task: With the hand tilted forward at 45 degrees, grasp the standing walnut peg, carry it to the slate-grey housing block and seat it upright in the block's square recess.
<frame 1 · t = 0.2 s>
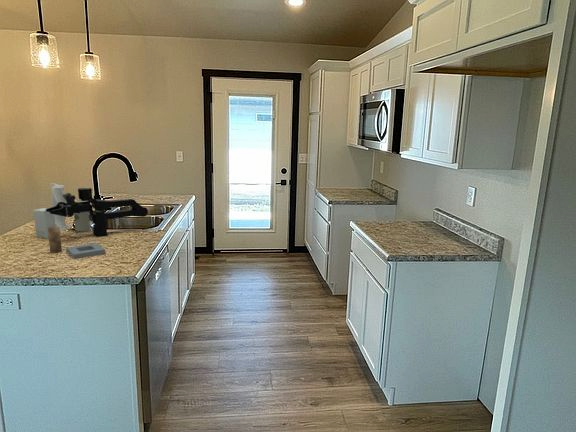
hand: (47, 211, 212), 17 cm above the counter, tool horizontal, fingers open, 9 cm apart
skincare box: (46, 237, 225), on the counter
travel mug: (82, 230, 241), on the counter
walnut peg: (55, 251, 199), on the counter
skyscraper: (60, 230, 241), on the counter
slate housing: (85, 252, 199), on the counter
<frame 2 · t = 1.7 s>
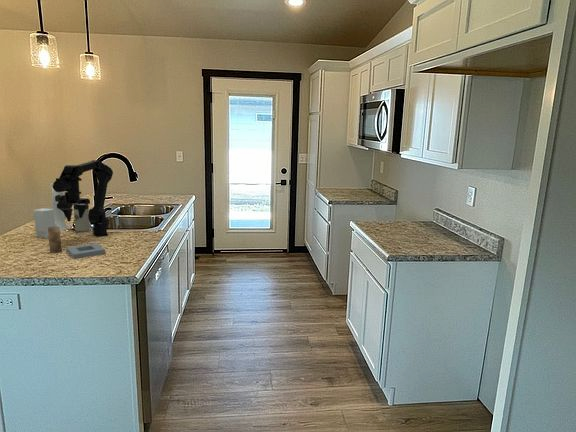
hand: (74, 219, 211), 13 cm above the counter, tool pointing down, fingers open, 9 cm apart
nothing on the counter moved.
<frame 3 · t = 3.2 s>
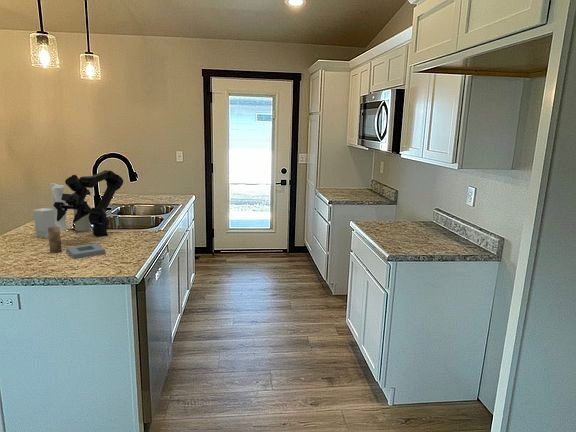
hand: (65, 221, 204), 13 cm above the counter, tool tilted 45°, fingers open, 9 cm apart
nothing on the counter moved.
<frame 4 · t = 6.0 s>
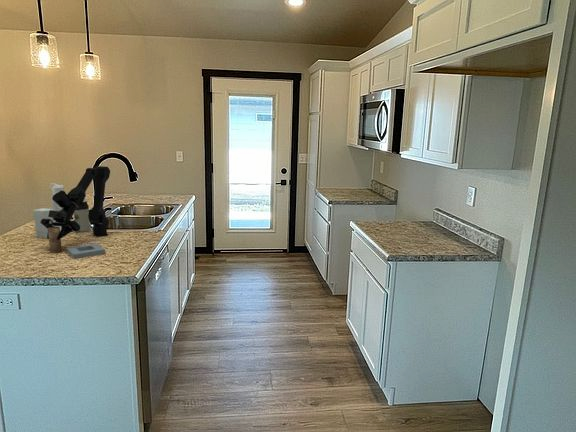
hand: (52, 239, 196), 7 cm above the counter, tool tilted 45°, fingers closed on walnut peg, 5 cm apart
walnut peg: (55, 251, 199), on the counter, touching gripper
everything else where it was.
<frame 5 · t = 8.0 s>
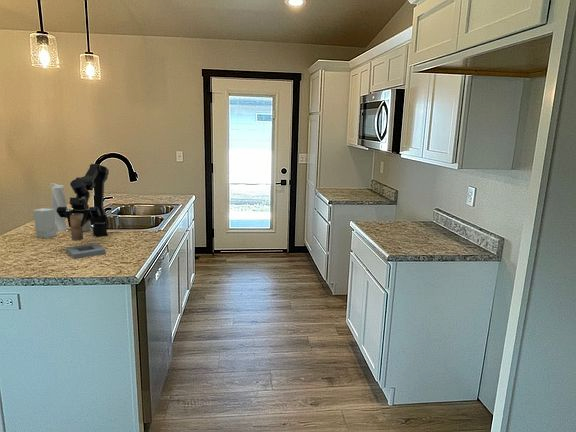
hand: (75, 226, 194), 13 cm above the counter, tool tilted 45°, fingers closed on walnut peg, 5 cm apart
walnut peg: (77, 239, 197), point 7 cm above the counter, touching gripper
everything else where it was.
when the fingers open (8 cm above the counter, at t = 10.0 s): walnut peg drops 1 cm, resting in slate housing.
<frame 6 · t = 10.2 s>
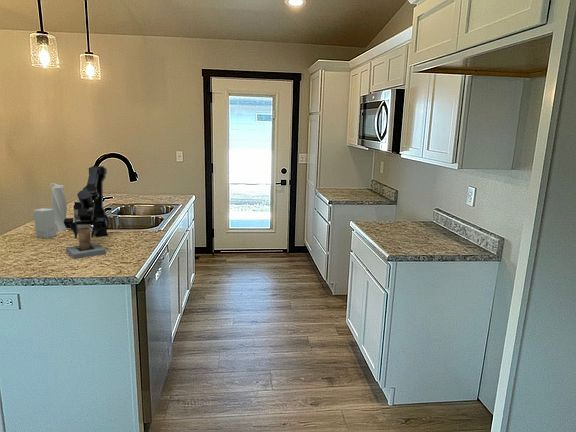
hand: (83, 237, 196), 8 cm above the counter, tool tilted 45°, fingers open, 7 cm apart
walnut peg: (85, 252, 199), resting in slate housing
everything else where it was.
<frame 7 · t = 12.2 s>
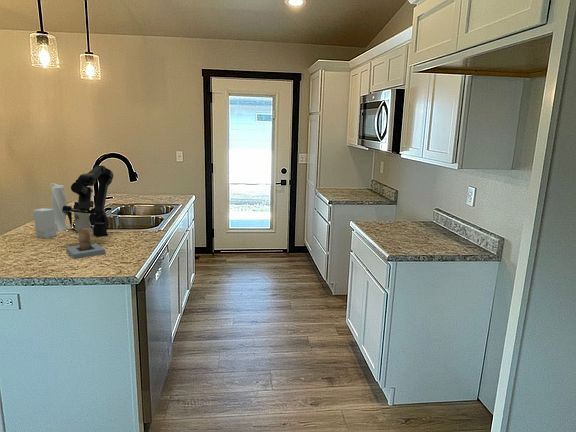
hand: (81, 227, 207), 10 cm above the counter, tool tilted 25°, fingers open, 9 cm apart
nothing on the counter moved.
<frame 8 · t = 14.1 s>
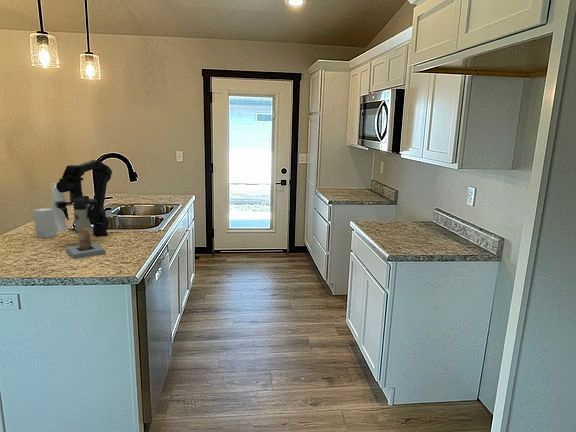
hand: (77, 219, 211), 13 cm above the counter, tool pointing down, fingers open, 9 cm apart
nothing on the counter moved.
at the end: walnut peg 0.0 cm off-centre on the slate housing, point 0.0 cm above the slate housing's base; walnut peg tilted 0°; the gripper is holding nothing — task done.
